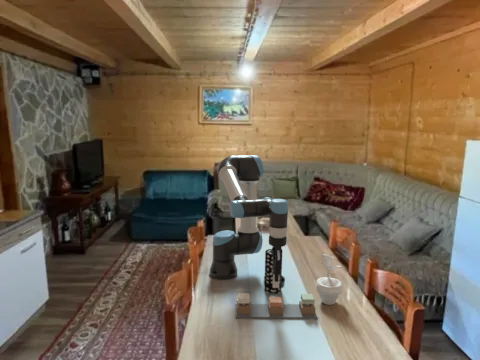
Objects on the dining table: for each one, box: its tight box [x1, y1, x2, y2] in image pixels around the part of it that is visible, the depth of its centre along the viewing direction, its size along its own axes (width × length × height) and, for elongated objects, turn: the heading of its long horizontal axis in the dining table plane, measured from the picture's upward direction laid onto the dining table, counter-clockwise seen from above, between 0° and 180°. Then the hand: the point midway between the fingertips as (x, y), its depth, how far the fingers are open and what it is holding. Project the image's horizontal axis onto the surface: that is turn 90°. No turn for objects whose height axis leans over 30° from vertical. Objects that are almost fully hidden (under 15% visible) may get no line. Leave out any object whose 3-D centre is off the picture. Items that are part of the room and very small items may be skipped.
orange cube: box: [268, 296, 283, 307], centre depth 161 cm, size 5×5×5 cm
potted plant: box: [315, 252, 343, 306], centre depth 169 cm, size 13×12×25 cm
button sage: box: [300, 293, 315, 306], centre depth 161 cm, size 5×5×5 cm
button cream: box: [237, 293, 251, 306], centre depth 161 cm, size 5×5×5 cm
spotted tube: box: [263, 248, 283, 295], centre depth 181 cm, size 8×8×20 cm
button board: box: [235, 300, 319, 320], centre depth 161 cm, size 11×35×4 cm, turn 91°
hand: (275, 287), depth 160 cm, fingers closed
